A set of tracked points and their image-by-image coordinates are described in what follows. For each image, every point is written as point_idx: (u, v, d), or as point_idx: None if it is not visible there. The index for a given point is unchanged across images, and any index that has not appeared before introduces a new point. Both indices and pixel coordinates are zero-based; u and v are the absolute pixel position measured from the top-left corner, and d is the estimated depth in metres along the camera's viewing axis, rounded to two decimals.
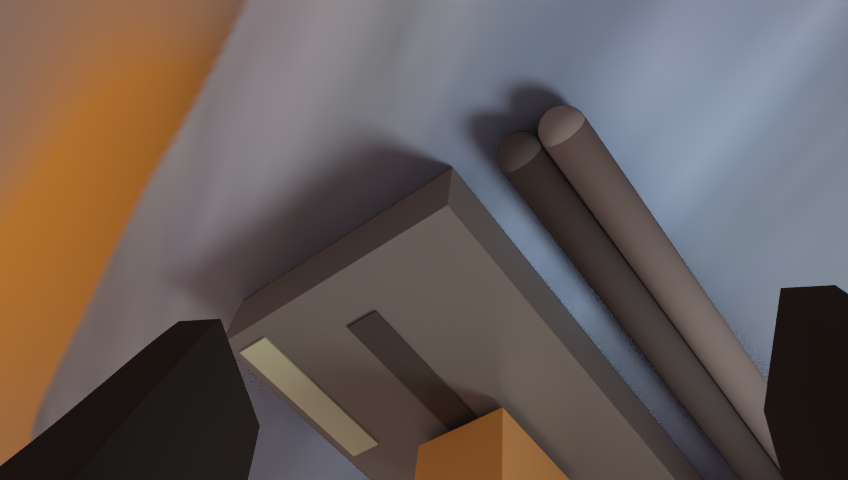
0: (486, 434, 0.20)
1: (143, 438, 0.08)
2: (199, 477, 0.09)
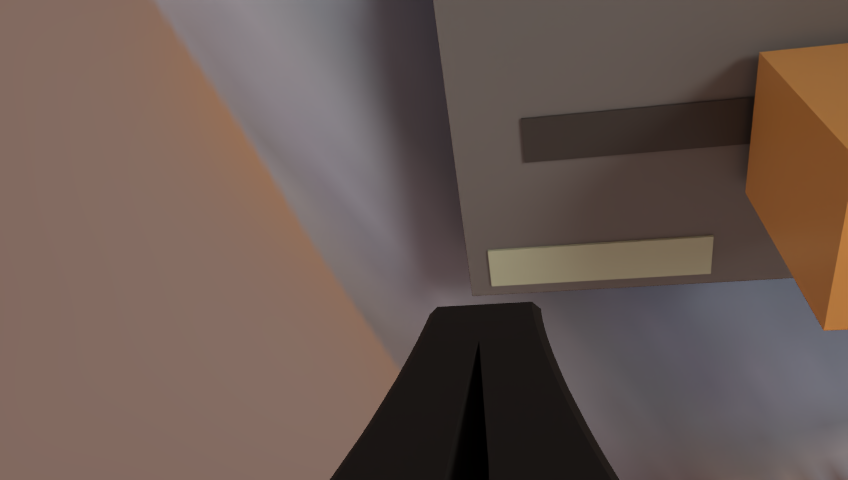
0: (768, 93, 0.13)
1: (466, 429, 0.07)
2: (484, 472, 0.08)
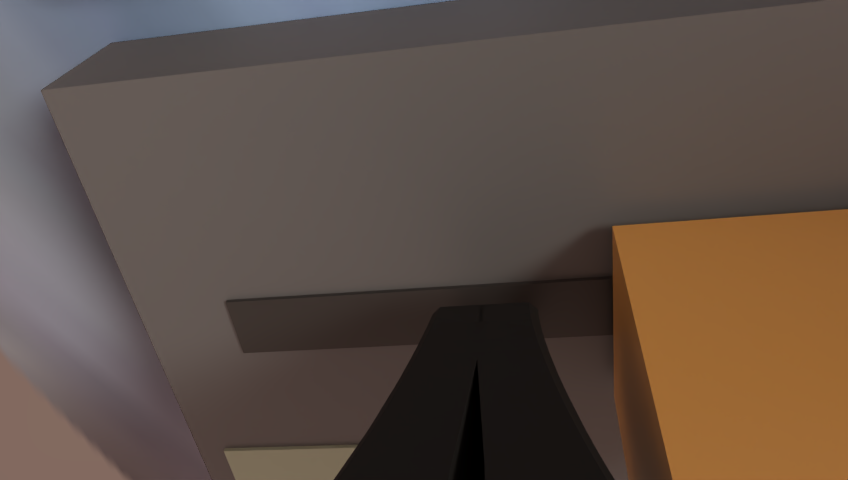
0: (619, 293, 0.09)
1: (470, 429, 0.07)
2: None
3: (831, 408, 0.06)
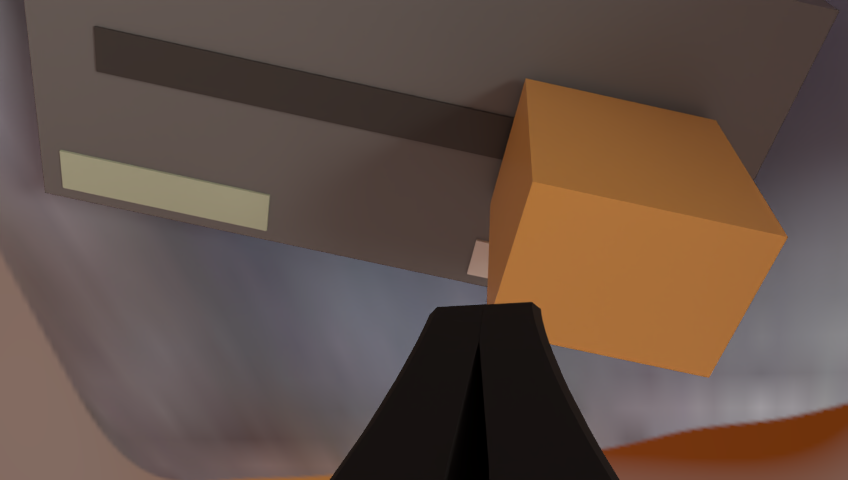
0: (519, 116, 0.14)
1: (466, 429, 0.07)
2: (484, 472, 0.08)
3: (616, 165, 0.12)
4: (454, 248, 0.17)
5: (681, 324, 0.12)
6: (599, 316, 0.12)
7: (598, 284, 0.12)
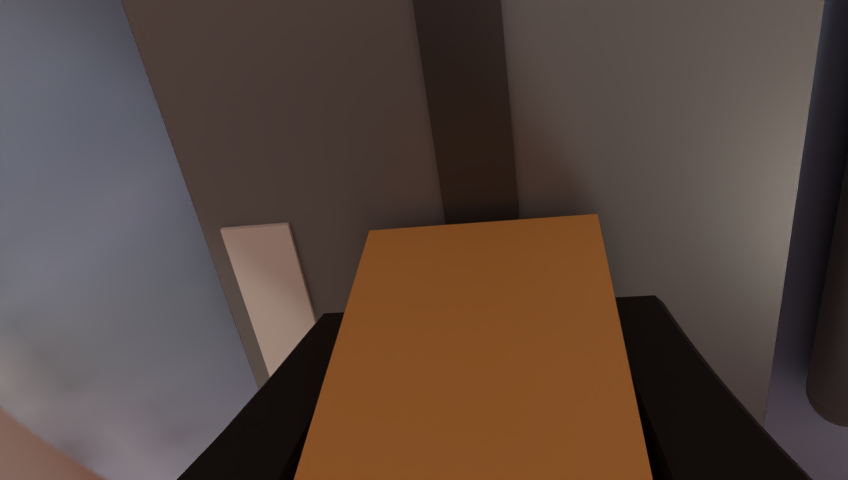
0: (558, 248, 0.09)
1: None
2: None
3: None
4: (253, 196, 0.10)
5: None
6: None
7: None
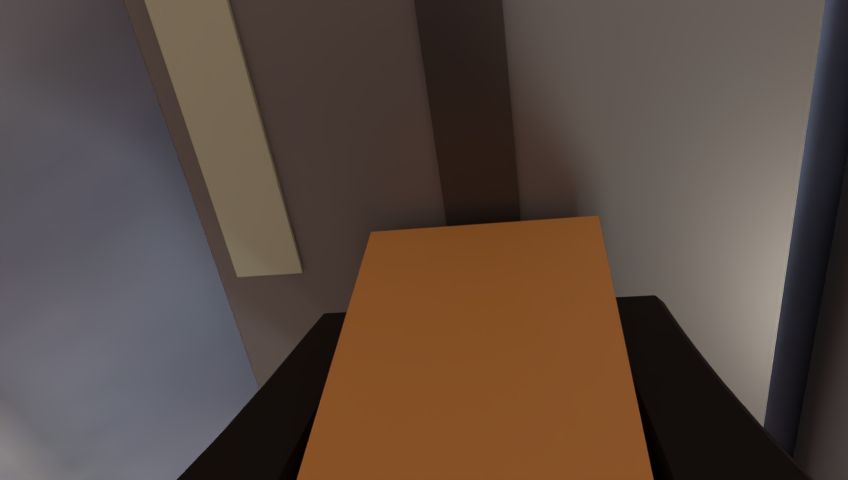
0: (560, 250, 0.09)
1: None
2: None
3: None
4: None
5: None
6: None
7: None
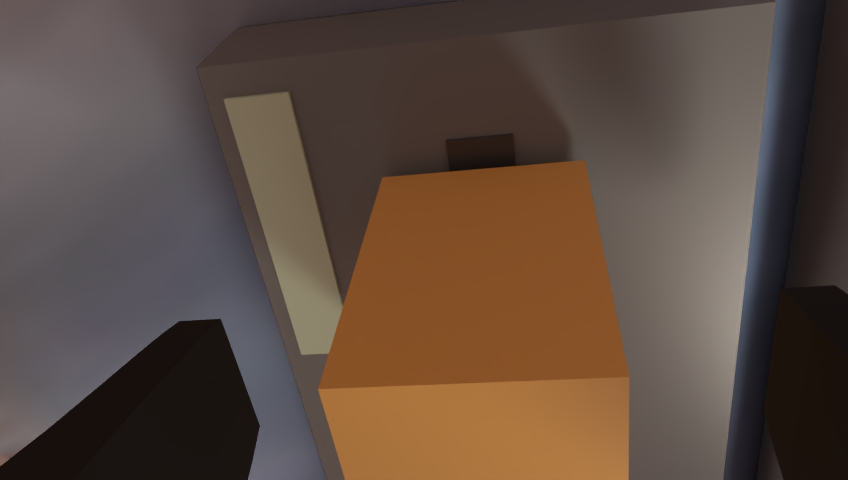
0: (550, 187, 0.10)
1: (143, 438, 0.08)
2: (199, 477, 0.09)
3: None
4: None
5: None
6: None
7: None
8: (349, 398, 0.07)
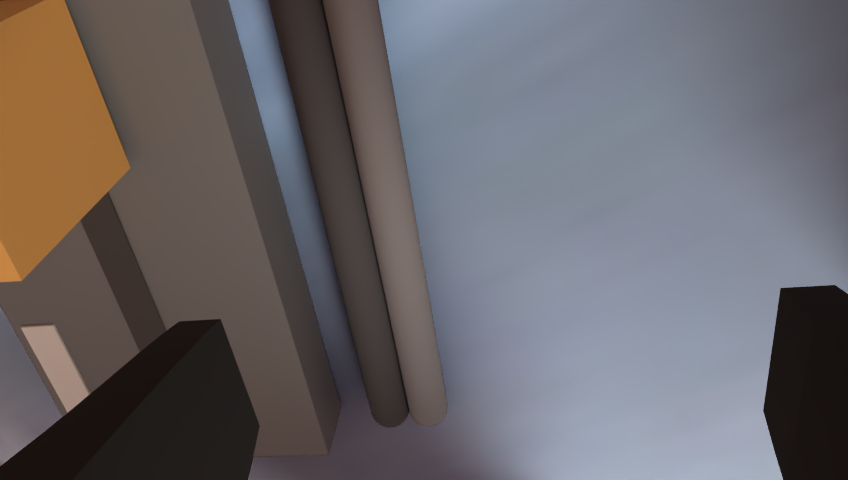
0: (17, 5, 0.14)
1: (143, 438, 0.08)
2: (199, 477, 0.09)
3: None
4: (34, 312, 0.20)
5: None
6: None
7: None
8: None
